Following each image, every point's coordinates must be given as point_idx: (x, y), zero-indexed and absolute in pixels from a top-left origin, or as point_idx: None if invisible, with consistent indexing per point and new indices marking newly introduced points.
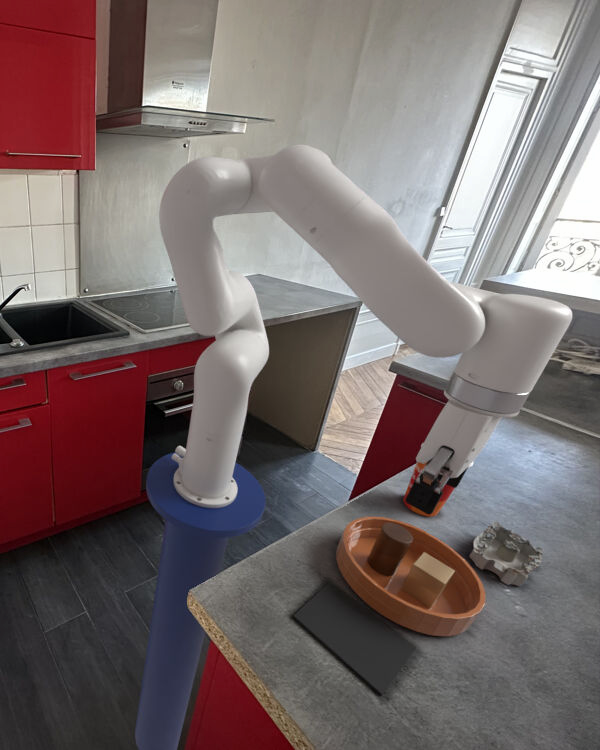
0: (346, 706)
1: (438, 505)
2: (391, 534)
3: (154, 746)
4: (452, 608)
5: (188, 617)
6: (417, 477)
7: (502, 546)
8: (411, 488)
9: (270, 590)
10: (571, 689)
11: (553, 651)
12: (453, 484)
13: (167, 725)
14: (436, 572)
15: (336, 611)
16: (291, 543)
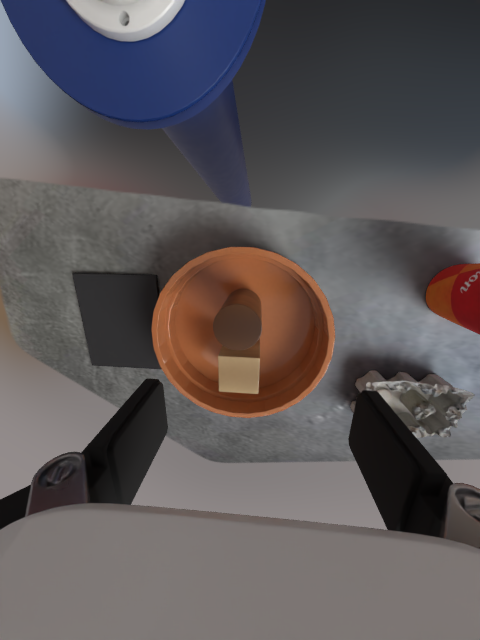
0: (58, 349)
1: (455, 322)
2: (221, 323)
3: None
4: None
5: (192, 165)
6: (32, 482)
7: (415, 402)
8: (117, 413)
9: (75, 233)
10: (250, 453)
11: (283, 442)
12: (353, 445)
13: None
14: (230, 379)
15: (125, 301)
16: (169, 198)
